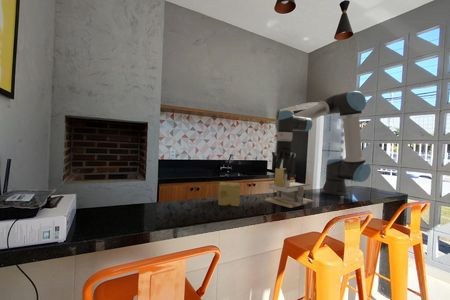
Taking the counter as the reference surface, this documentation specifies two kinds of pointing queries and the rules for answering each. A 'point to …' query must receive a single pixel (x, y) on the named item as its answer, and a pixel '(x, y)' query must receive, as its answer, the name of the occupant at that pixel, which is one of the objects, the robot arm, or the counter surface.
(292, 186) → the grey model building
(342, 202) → the counter surface
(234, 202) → the cheese
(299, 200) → the stand
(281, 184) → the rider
